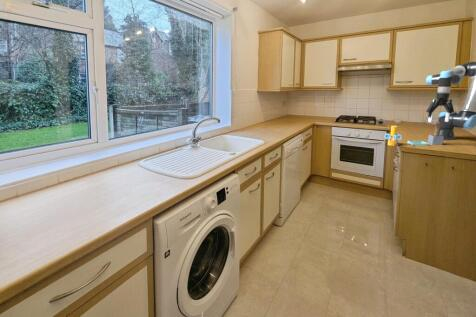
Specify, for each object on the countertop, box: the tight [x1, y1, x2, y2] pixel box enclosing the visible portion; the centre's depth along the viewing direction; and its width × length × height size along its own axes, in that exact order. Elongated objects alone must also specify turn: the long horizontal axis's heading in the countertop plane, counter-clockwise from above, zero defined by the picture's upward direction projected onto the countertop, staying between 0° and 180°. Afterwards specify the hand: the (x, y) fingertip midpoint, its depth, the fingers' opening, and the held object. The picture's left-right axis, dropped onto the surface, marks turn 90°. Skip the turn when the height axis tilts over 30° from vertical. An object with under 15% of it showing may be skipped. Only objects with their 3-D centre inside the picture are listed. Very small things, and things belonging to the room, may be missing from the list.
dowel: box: [433, 121, 441, 136], centre depth 210 cm, size 3×3×17 cm
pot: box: [427, 134, 444, 146], centre depth 212 cm, size 7×7×8 cm
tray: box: [406, 140, 430, 147], centre depth 213 cm, size 11×10×2 cm
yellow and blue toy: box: [384, 125, 403, 147], centre depth 213 cm, size 12×10×15 cm
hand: (438, 121), depth 208 cm, fingers open, 13 cm apart
